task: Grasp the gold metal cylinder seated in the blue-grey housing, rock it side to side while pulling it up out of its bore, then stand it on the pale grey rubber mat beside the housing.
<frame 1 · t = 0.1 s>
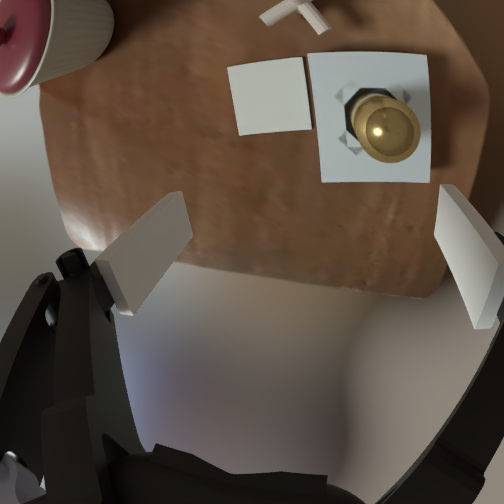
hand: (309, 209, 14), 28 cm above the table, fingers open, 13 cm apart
canister: (90, 31, 35), on the table
housing: (370, 112, 34), on the table
pipe connector: (303, 8, 29), on the table
mat: (269, 96, 37), on the table
gold metal cylinder: (371, 113, 34), point 1 cm above the table, touching housing
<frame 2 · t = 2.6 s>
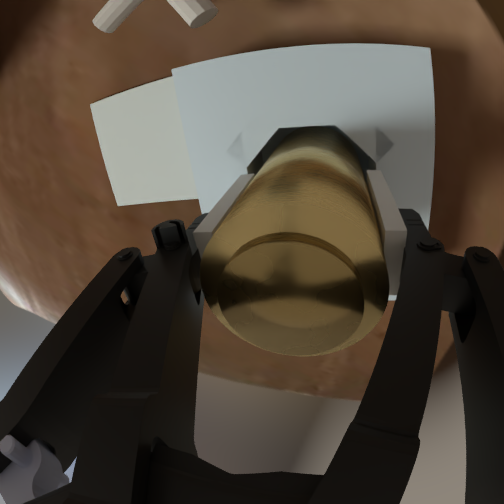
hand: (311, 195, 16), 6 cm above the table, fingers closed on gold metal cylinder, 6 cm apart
housing: (316, 164, 21), on the table
mat: (149, 144, 23), on the table
gold metal cylinder: (316, 168, 20), point 1 cm above the table, touching gripper, housing
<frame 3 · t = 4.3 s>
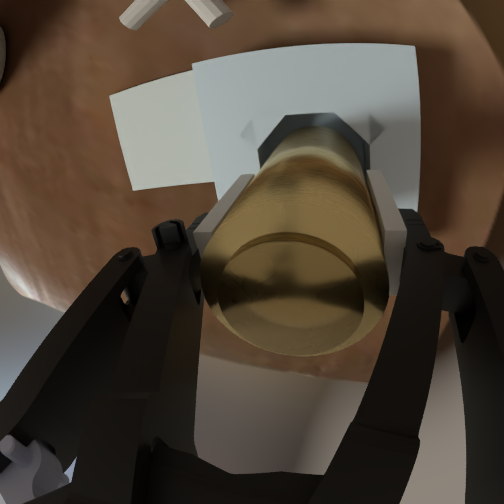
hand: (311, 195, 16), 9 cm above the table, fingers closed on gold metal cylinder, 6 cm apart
housing: (318, 150, 23), on the table
mat: (165, 132, 25), on the table
gold metal cylinder: (316, 168, 20), point 4 cm above the table, touching gripper
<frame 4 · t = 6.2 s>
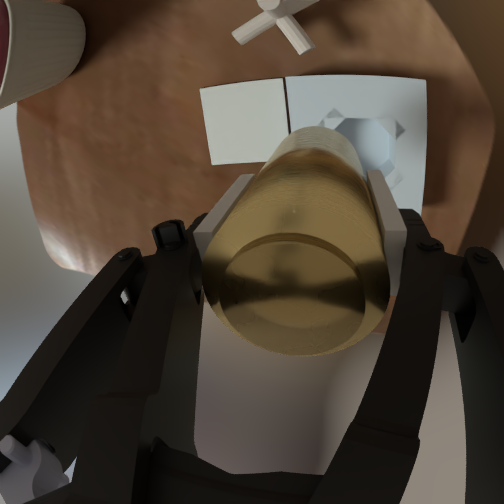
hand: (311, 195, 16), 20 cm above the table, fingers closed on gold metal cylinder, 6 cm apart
canister: (64, 44, 32), on the table
housing: (357, 143, 32), on the table
pipe connector: (286, 21, 26), on the table
mat: (245, 122, 34), on the table
gold metal cylinder: (316, 169, 20), point 15 cm above the table, touching gripper
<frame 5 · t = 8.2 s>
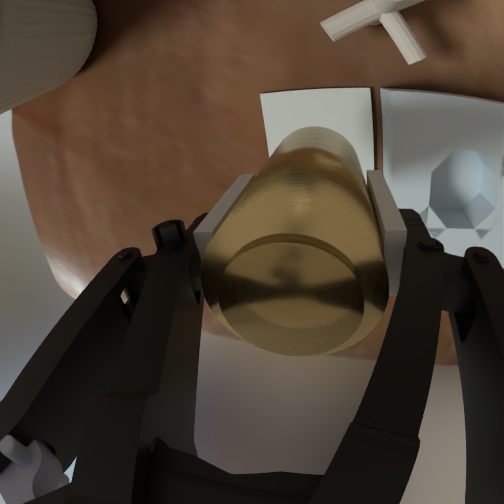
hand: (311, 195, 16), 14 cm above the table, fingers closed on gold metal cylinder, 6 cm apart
canister: (68, 36, 25), on the table
housing: (448, 172, 25), on the table
pipe connector: (372, 17, 19), on the table
mat: (320, 140, 27), on the table
gold metal cylinder: (316, 169, 20), point 9 cm above the table, touching gripper
when the fingers open (6 cm above the table, at t = 9.8 s): gold metal cylinder drops 1 cm, resting on mat.
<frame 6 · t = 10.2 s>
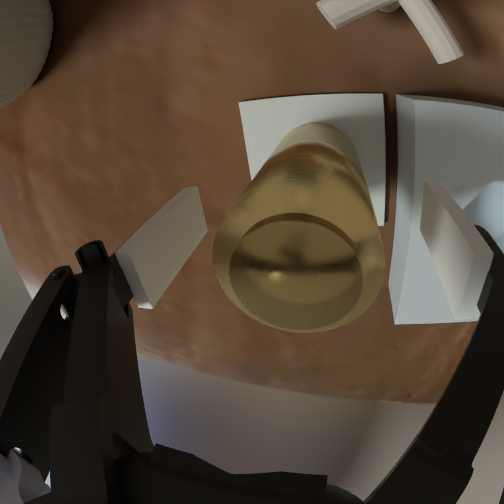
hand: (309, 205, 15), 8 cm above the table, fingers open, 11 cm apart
canister: (26, 41, 19), on the table
housing: (474, 202, 19), on the table
pipe connector: (384, 1, 13), on the table
mat: (317, 162, 21), on the table
gold metal cylinder: (317, 163, 21), resting on mat
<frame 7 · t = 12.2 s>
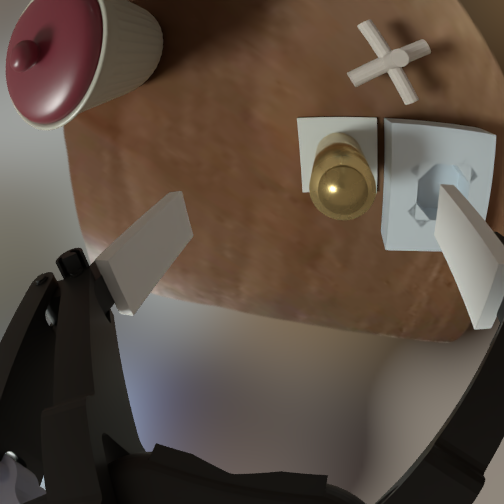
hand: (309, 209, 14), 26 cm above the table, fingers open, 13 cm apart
canister: (131, 50, 34), on the table
housing: (432, 180, 35), on the table
pipe connector: (381, 64, 29), on the table
mat: (339, 154, 37), on the table
gold metal cylinder: (339, 155, 36), resting on mat
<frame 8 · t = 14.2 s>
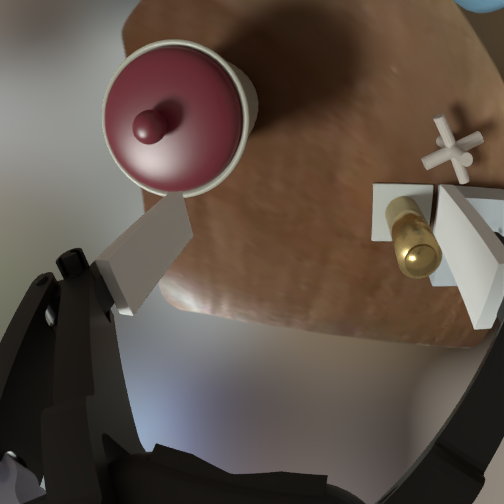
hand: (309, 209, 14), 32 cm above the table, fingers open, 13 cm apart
canister: (218, 103, 43), on the table
housing: (467, 230, 42), on the table
pipe connector: (441, 141, 37), on the table
mat: (402, 212, 44), on the table
gold metal cylinder: (402, 213, 44), resting on mat
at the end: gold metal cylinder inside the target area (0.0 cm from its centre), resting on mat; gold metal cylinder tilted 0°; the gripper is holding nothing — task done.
